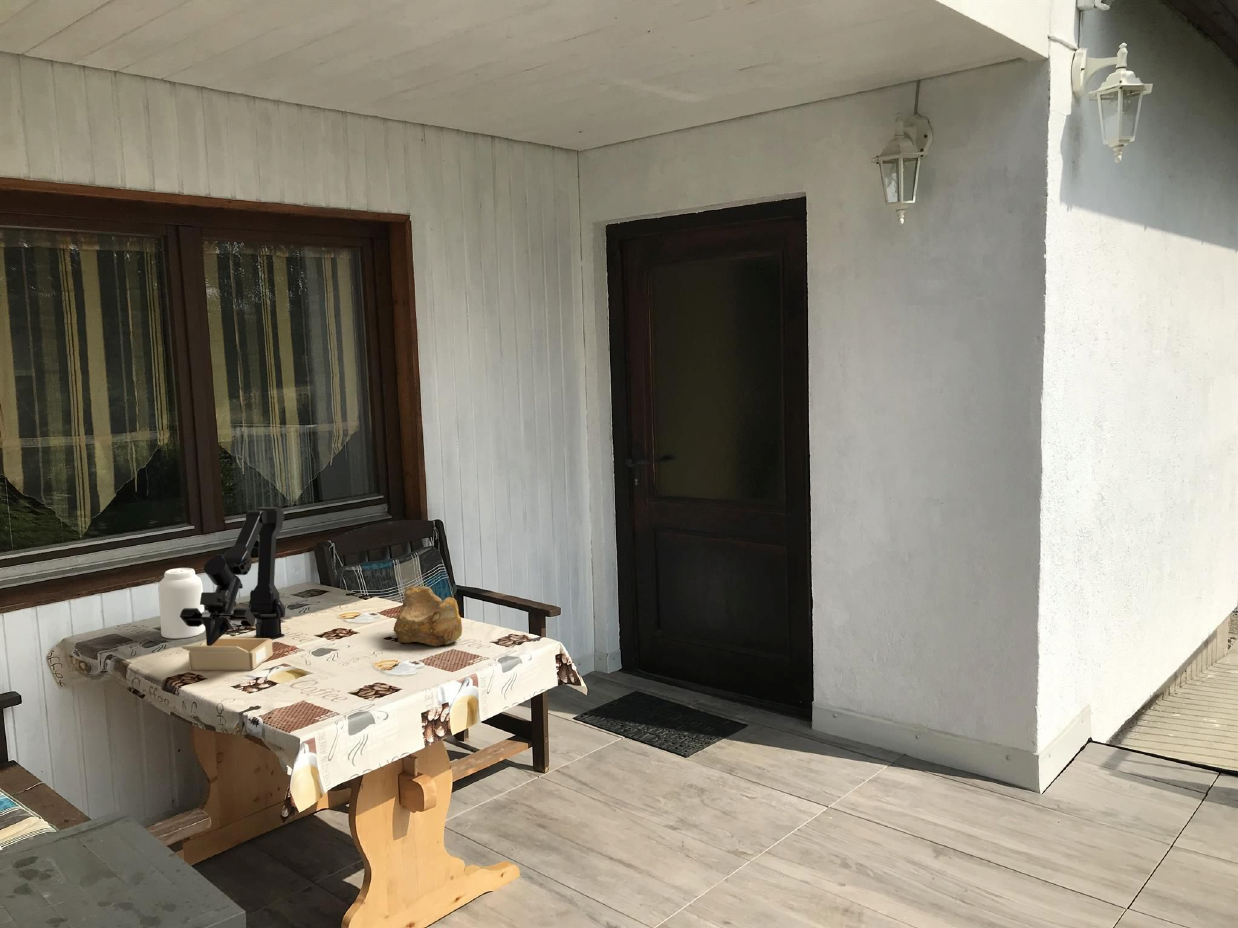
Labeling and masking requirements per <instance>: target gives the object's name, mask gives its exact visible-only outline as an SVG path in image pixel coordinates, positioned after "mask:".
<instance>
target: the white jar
mask: <svg viewBox="0 0 1238 928" xmlns="http://www.w3.org/2000/svg"><path fill="white" fill-rule="evenodd" d="M163 576H164V577H163V578H162V579H161V580H160V581H159V582H158V588H157V589H158V603H159V619H160V634H161V636H162V637H164V638H166V639H187V638H192V637H195V636H196V637H197V636H199V635H201V634H203V633H204V632H206V629H205V626H204V625H203V624H202V625H201V626H199V627H190V626H187V625H186V624H185V622H184V621H183V620H182V619H181V617H180V614H181V611H182V610H183V609H184V608H197V609H198V610H199V611H200V612H201V613H202V612H205V605H200V599H201V593H202V592H204V588H203V587H204V585H203V582H202V579H201V577H199V576H198V575H197V574H196V571H195V569H194V568H190V567H178V568H172V569H171V568H170V569H168V570H166V571H165V572H164V574H163Z"/></svg>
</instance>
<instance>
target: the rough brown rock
mask: <svg viewBox="0 0 1238 928" xmlns="http://www.w3.org/2000/svg"><path fill="white" fill-rule="evenodd" d="M403 597H404V598H403V603H402V605H401V608H400V612H399V613H398V615H397V617H396V621H395V623H394V625H393V632H394V633H395V636H396V637H397V639H398V642H400V643H402V644H410V643H413V642H415V643H416V642H417V643H422V644H425V645H427V646H432V647H435V648H439V647H441V646H442V645H445V646H447V645H448V644H452V643H454V642H456V641H457V640H458V639H459V638H461V636H462V634H463V625H462V617H461V615H460V614H459V605H458V603H457V600H456V599H455V598H454V597H452V596H449V597H446V598H445V599H443V600H442V599H441V598H440V597H439V596H437V595H436V594H435V593H434V592H433V590H432V588H431V587H429V586H424V585H422V586H420V585H419V586H418V587H415V586H407V587H406V588H405V590H404V594H403Z"/></svg>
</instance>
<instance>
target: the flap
mask: <svg viewBox="0 0 1238 928" xmlns="http://www.w3.org/2000/svg"><path fill="white" fill-rule="evenodd" d="M178 647H179V648H181V649H184V650H186V651H188V652H246V653H248V651H246V650H244V649H242V648H240V647H238V646H200V645H178Z"/></svg>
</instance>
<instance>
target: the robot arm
mask: <svg viewBox="0 0 1238 928" xmlns="http://www.w3.org/2000/svg"><path fill="white" fill-rule="evenodd" d="M284 520H285V512H284V511H283V510H282V509H281V508H280V507H277V506H276V507H275V506H274V507H273V506H272V507H271V506H270V507H269V506H266V507H265V506H264V507H263V506H262V507H261V506H260V507H259V506H258V507H257V508H256V510H249V511H247V512H246V514H245V521H244V522H243V525H242V527H241V529H240V532H239V534H238V535H237V538H236V541H235V542H234V545H233V546H231V547H230V548H229V549H226V551H225V553H224V554H222V553H221V554H215V556H214V557H213V558H210V559H209V560H208V561H207V562H206V563H205V564H204V566H203V570H204V573H205V574H206V576H207V577H208V579H209V580H210V581H211V582H212V584H213V585H215V586H216V588H215V591H213V592H209V591H208V592H207V591H206V592H204V591H203V592H202V593H201V599H200V605H204V612H202V613H201V612H200V611H199V610H198V609H197V608H184V609H183V610H182V611H181V614H180V617H181V619H182V620H183V621H184V622H185V624H186V625H187V626H190V627H199V626H201V625H202V624H203V625H204V626H205V638H206V639H205V642H206V643H207V646H212V645H213V644H214V643H215V642H216V641H217V640H218V639H219V638H222V636H223V635H225V633H227V632H228V631H229V630H233V628H234V627H233V623H234V622H235V621H238V622H239V621H240V625H241V626H242V627H243V628H252V627H254V626H255V635H254V638H267V639H272V640H274V639H278V638H281V637H285V634H284V633H283V632H282V622H281V621H282V618H285V615H286V607H285V605H284V604H283V603H282V601H281V599H280V592H279V590H278V589H277V587H276V586H275V573H276V572H275V571H276V570H275V569H276V553H277V552H276V550H277V549H276V547H277V536H278V535H279V533H280V532H281V531H282V529H283V523H284ZM257 539H258V540H259V541H258V558H257V559H258V561H257V580H256V586H255V587H254V588H253V589H251V591H249V602H248V607H247V608H244V607H241V608H240V607H239V608H238V607H237V608H234V607H236V606H237V604H238V603H237V602H236V599H237V597H238V593H239V590H241V589H243V588H244V587H243V586H244V585H243V583H242V581H241V579H240V577H238V576H246V575H248V574H249V572H250V571H251V569H252V564H253V560H252V557H251V555H252V554H251V553H252V550H253V548H254V547H255V544H256V542H257ZM233 608H234V609H233ZM232 611H233V612H232Z"/></svg>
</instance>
